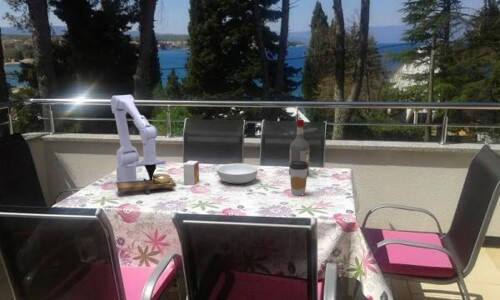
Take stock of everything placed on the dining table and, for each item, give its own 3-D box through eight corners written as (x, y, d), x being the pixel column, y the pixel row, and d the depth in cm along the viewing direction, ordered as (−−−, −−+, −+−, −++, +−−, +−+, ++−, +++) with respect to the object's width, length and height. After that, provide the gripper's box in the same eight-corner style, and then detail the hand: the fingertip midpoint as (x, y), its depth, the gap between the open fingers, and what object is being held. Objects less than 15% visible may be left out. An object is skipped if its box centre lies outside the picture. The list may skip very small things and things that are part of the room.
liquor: (287, 175, 230) (288, 120, 224) (295, 172, 238) (296, 118, 232) (303, 178, 226) (304, 121, 219) (310, 174, 233) (311, 119, 227)
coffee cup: (308, 192, 203) (309, 161, 200) (305, 197, 195) (306, 165, 192) (291, 190, 206) (292, 159, 202) (287, 195, 198) (287, 163, 195)
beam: (118, 191, 195) (118, 188, 195) (117, 185, 205) (116, 182, 204) (175, 186, 204) (175, 183, 204) (171, 180, 213) (171, 177, 213)
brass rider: (153, 184, 201) (153, 177, 201) (152, 179, 209) (152, 173, 208) (170, 184, 204) (170, 178, 203) (169, 179, 211) (169, 173, 211)
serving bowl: (210, 184, 215) (209, 171, 214) (227, 174, 234) (227, 161, 233) (248, 189, 208) (248, 175, 206) (263, 178, 227) (263, 165, 225)
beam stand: (145, 194, 199) (145, 185, 198) (142, 187, 210) (142, 178, 209) (150, 194, 200) (149, 185, 199) (147, 187, 211) (146, 178, 210)
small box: (194, 185, 214) (193, 164, 212) (183, 184, 215) (183, 164, 213) (199, 180, 222) (199, 160, 220) (189, 180, 223) (188, 160, 221)
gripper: (134, 155, 196) (136, 183, 198) (166, 152, 200) (167, 180, 203) (133, 152, 202) (134, 179, 205) (164, 149, 207) (165, 177, 210)
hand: (150, 180), depth 205 cm, fingers closed
